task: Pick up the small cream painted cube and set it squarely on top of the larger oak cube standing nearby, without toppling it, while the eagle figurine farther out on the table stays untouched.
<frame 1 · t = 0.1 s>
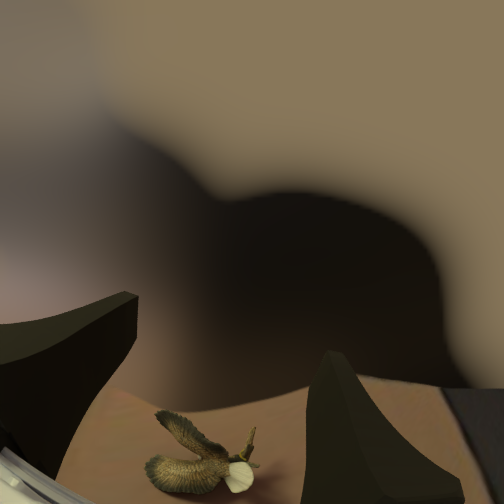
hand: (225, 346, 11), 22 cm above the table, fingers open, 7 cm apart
eagle figurine: (197, 472, 25), on the table
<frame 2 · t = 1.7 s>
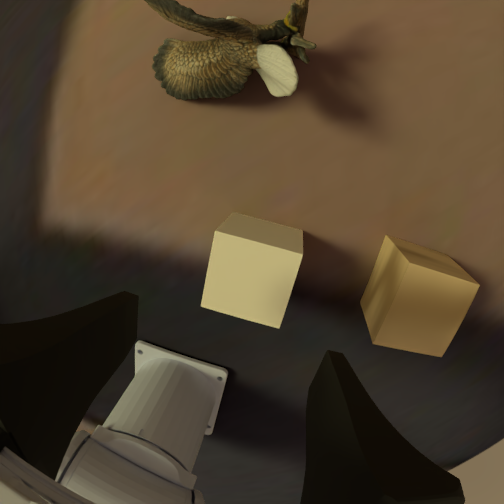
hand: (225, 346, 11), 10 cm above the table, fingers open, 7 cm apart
oak base block: (404, 278, 20), on the table
eagle figurine: (230, 50, 17), on the table
cream block: (259, 253, 21), on the table
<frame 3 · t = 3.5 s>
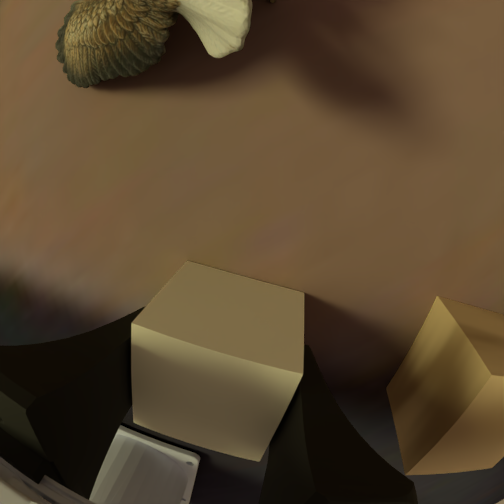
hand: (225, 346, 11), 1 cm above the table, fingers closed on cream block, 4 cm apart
oak base block: (453, 353, 12), on the table
eagle figurine: (161, 3, 9), on the table
cream block: (232, 325, 12), on the table, touching gripper
when the fingers open (7 cm above the table, at t = 6.4 s): cream block stays where it is, resting on oak base block.
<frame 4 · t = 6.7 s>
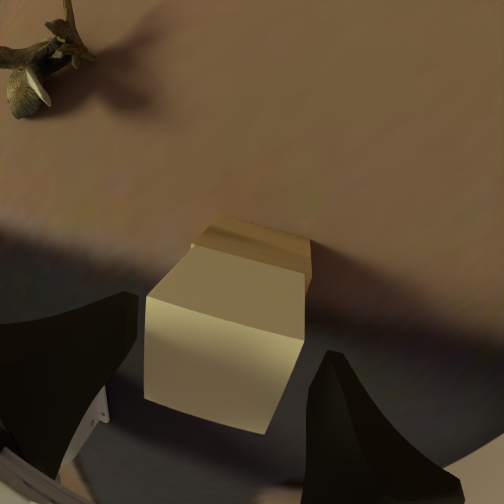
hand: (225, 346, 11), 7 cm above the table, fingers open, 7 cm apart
oak base block: (254, 267, 18), on the table, touching cream block
eagle figurine: (52, 67, 16), on the table
cream block: (238, 306, 13), point 5 cm above the table, touching oak base block
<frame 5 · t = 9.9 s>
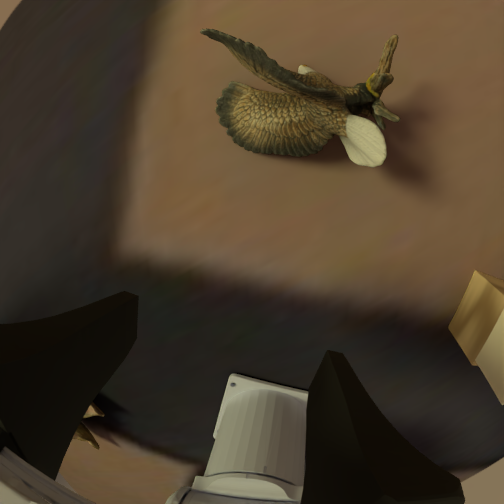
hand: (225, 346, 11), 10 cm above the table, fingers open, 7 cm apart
ceramic sculpture: (60, 388, 31), on the table
oak base block: (482, 305, 20), on the table, touching cream block
eagle figurine: (299, 100, 18), on the table
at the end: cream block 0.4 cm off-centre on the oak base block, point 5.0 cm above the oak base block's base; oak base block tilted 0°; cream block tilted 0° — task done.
